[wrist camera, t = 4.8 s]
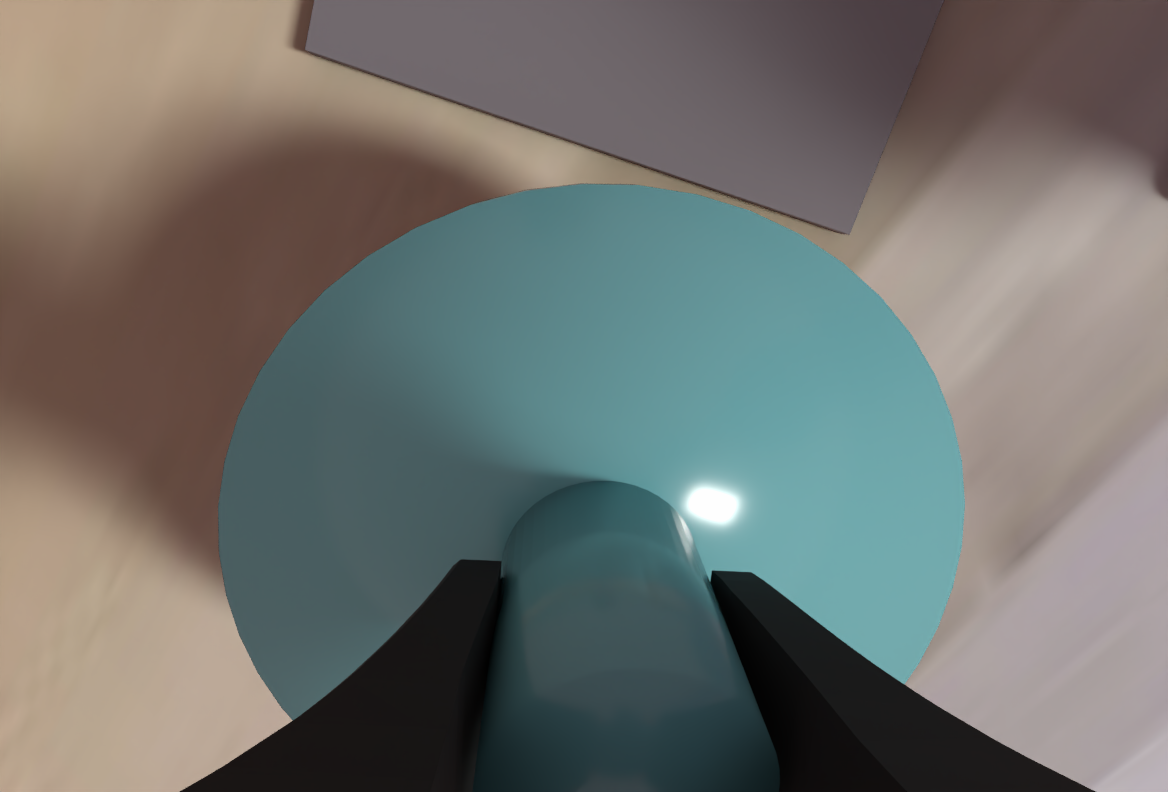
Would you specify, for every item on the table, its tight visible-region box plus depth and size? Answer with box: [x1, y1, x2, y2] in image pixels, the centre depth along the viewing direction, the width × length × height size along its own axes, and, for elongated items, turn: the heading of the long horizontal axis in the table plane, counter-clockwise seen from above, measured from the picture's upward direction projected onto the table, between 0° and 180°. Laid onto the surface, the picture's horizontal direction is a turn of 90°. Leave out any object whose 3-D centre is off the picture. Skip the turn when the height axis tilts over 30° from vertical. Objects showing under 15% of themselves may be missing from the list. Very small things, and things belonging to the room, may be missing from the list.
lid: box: [218, 183, 965, 792], centre depth 9 cm, size 12×12×5 cm
